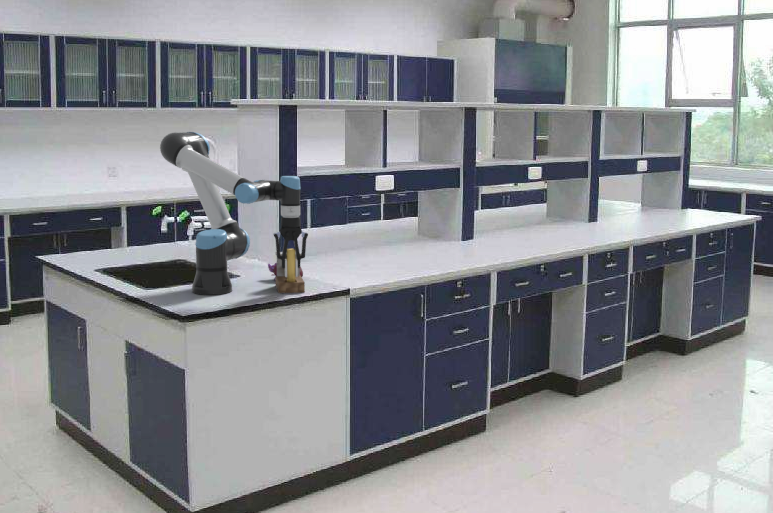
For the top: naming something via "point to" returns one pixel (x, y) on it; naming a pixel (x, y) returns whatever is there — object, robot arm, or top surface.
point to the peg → (291, 265)
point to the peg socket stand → (282, 280)
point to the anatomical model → (274, 270)
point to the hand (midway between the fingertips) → (291, 276)
